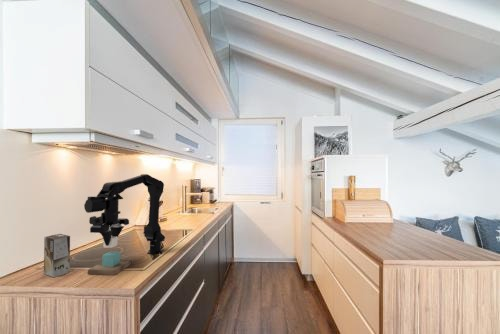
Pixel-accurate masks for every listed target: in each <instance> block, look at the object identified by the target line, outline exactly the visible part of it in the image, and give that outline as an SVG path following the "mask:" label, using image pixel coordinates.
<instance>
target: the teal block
mask: <svg viewBox="0 0 500 334" xmlns="http://www.w3.org/2000/svg"><path fill="white" fill-rule="evenodd" d="M101 259H102V260H101V263H102V266H105V267H113V266H115V265H117V264H118V263H120V259H121V252H120V251H108V252H107V253H104V254H102V258H101Z"/></svg>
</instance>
